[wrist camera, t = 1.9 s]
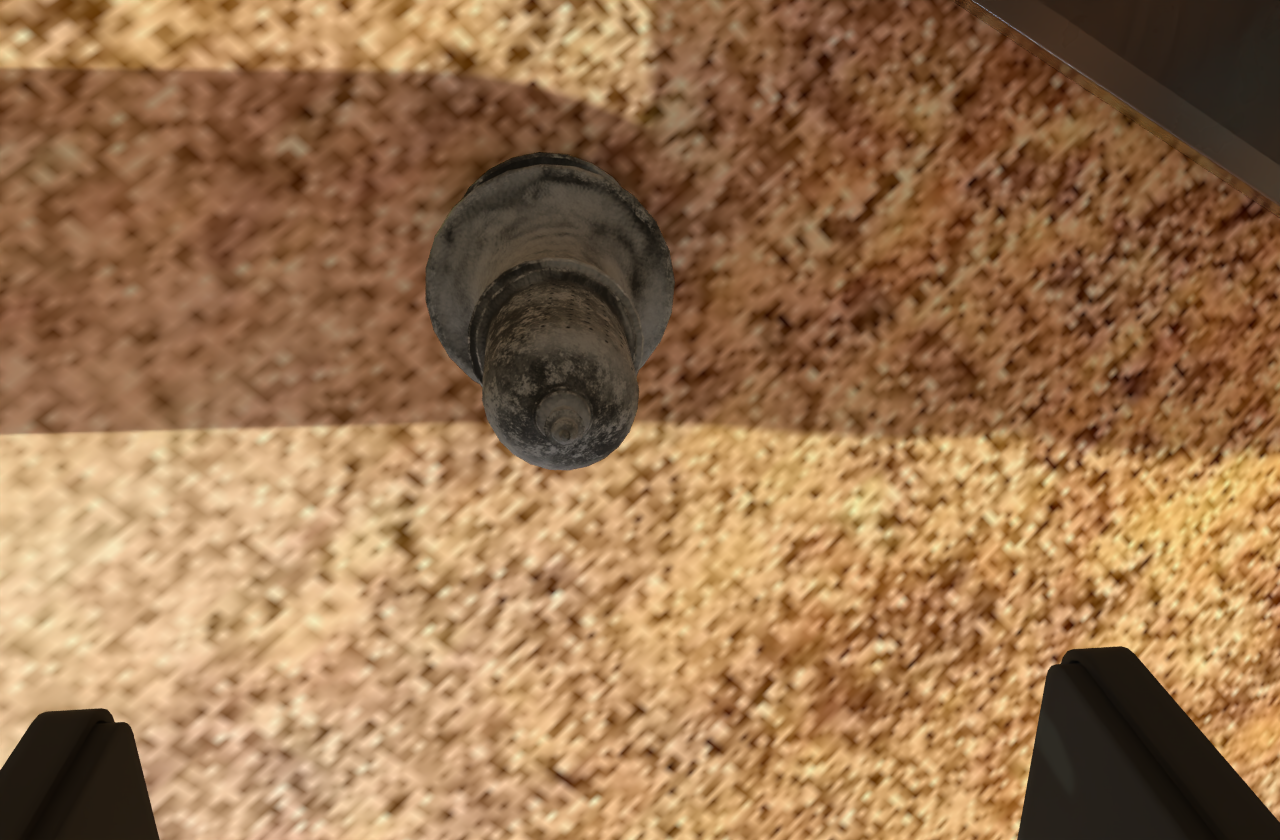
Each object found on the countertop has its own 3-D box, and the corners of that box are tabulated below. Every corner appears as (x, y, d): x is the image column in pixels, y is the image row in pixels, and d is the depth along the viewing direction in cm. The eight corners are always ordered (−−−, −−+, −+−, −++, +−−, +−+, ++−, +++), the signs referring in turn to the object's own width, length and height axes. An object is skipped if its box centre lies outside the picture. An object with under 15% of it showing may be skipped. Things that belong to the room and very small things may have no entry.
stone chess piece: (577, 94, 27) (617, 187, 16) (698, 281, 29) (805, 475, 18) (389, 223, 27) (303, 396, 17) (521, 395, 30) (521, 648, 19)
